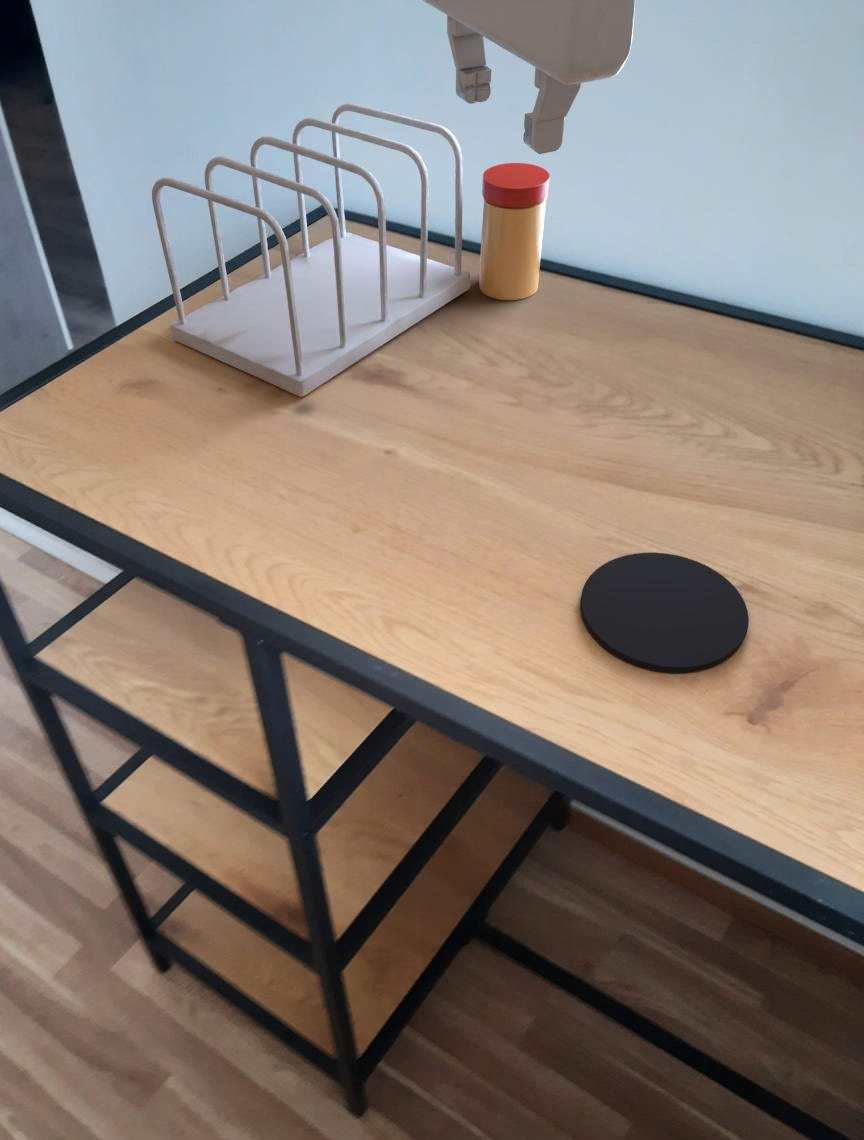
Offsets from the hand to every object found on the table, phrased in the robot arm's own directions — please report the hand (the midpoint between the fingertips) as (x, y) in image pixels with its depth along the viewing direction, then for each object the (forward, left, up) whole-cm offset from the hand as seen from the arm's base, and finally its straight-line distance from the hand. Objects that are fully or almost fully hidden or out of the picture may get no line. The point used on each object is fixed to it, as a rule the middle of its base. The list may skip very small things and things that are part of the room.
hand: (505, 122), depth 57 cm
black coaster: (-5, +20, -25) cm, 32 cm away
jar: (-13, -27, -25) cm, 39 cm away
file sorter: (+6, -28, -25) cm, 38 cm away
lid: (-13, -27, -15) cm, 34 cm away
